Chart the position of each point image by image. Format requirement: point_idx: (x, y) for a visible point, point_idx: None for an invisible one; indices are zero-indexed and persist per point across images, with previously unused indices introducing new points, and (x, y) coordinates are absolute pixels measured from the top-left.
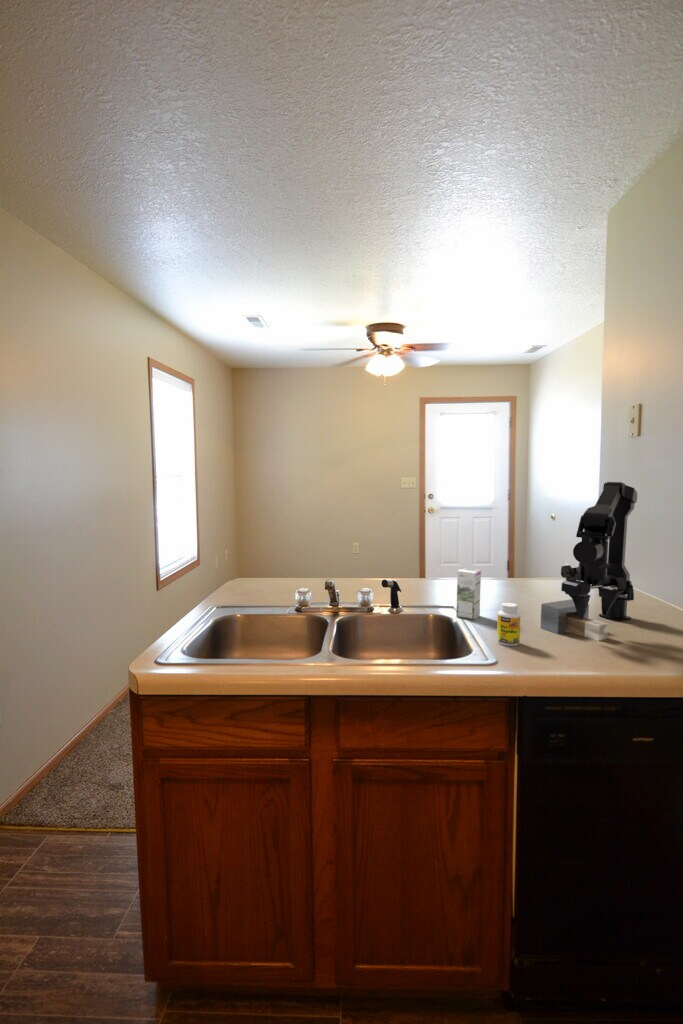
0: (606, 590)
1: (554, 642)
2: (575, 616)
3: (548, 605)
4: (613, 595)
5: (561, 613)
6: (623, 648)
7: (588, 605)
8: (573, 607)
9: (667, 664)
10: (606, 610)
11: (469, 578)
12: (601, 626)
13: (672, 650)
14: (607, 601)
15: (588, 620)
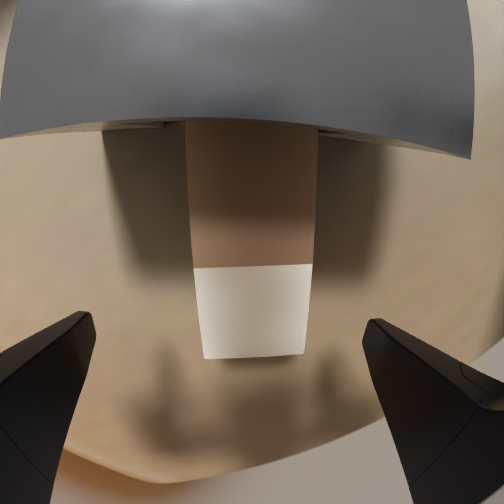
0: (481, 485)
1: (10, 228)
2: None
3: (25, 2)
4: (419, 501)
5: (58, 130)
6: (219, 394)
7: (458, 156)
8: (227, 117)
9: (211, 470)
10: (373, 371)
11: None
12: (232, 353)
13: (340, 435)
14: (413, 425)
15: (262, 249)
